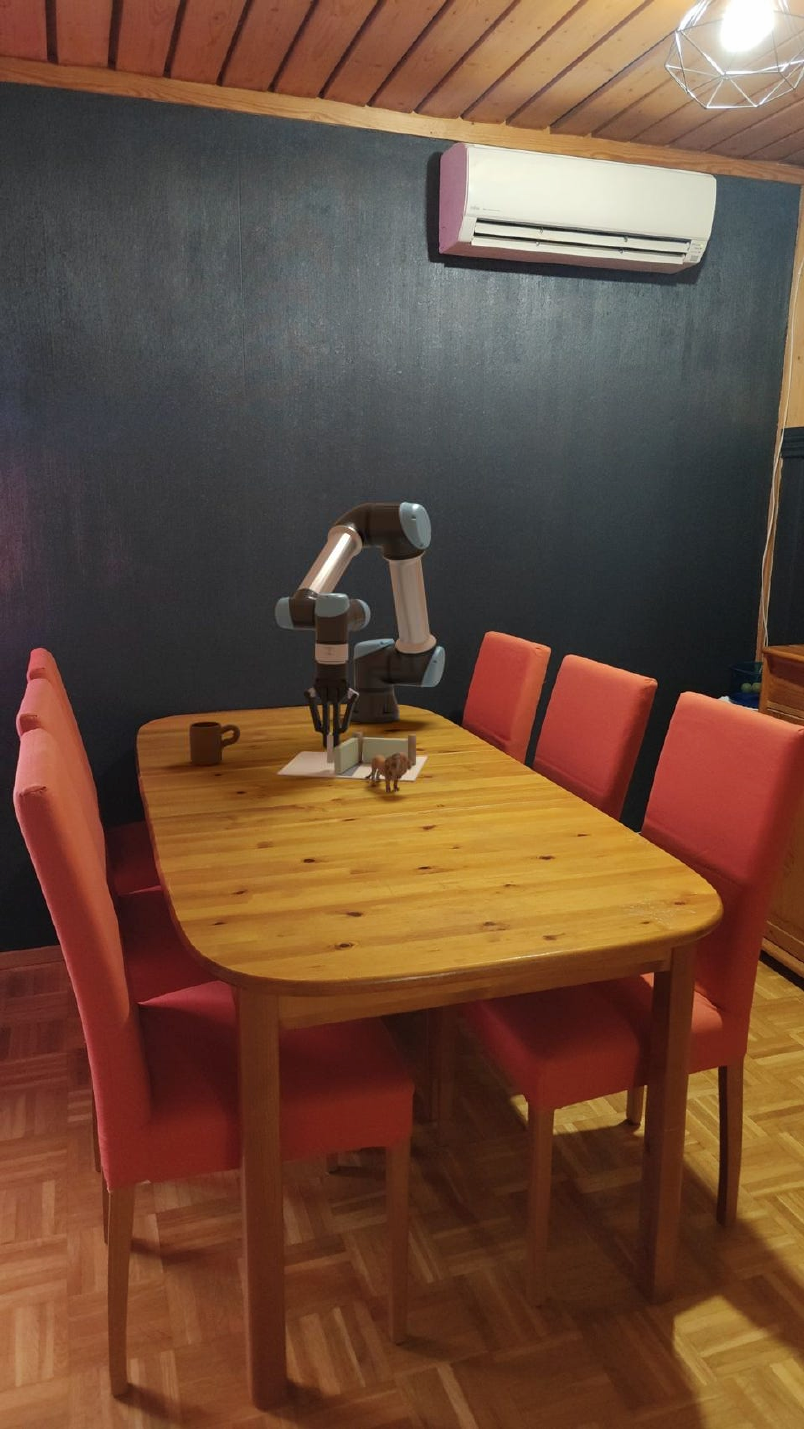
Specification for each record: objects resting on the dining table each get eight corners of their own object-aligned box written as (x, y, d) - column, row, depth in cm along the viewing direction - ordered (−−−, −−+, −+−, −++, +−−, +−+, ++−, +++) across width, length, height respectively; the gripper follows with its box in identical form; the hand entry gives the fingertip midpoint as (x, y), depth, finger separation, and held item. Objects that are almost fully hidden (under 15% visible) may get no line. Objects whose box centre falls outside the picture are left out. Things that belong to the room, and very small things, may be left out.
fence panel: (334, 773, 221) (334, 747, 220) (352, 761, 231) (351, 737, 230) (340, 773, 221) (340, 748, 219) (358, 762, 231) (358, 738, 230)
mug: (240, 757, 238) (239, 719, 236) (241, 764, 231) (240, 726, 229) (190, 759, 236) (189, 721, 234) (190, 767, 228) (189, 728, 226)
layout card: (302, 752, 243) (302, 751, 243) (427, 757, 238) (427, 756, 238) (276, 775, 222) (276, 773, 222) (414, 781, 217) (414, 780, 216)
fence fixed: (353, 760, 234) (353, 731, 232) (416, 763, 231) (417, 734, 230) (351, 762, 232) (351, 733, 230) (415, 765, 229) (415, 736, 228)
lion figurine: (416, 792, 208) (416, 752, 206) (397, 797, 205) (397, 756, 203) (374, 778, 219) (374, 740, 217) (355, 782, 216) (355, 743, 214)
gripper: (299, 662, 217) (300, 763, 222) (355, 665, 215) (354, 767, 220) (308, 658, 225) (308, 756, 229) (362, 660, 223) (361, 759, 227)
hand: (331, 761), depth 225 cm, fingers closed
